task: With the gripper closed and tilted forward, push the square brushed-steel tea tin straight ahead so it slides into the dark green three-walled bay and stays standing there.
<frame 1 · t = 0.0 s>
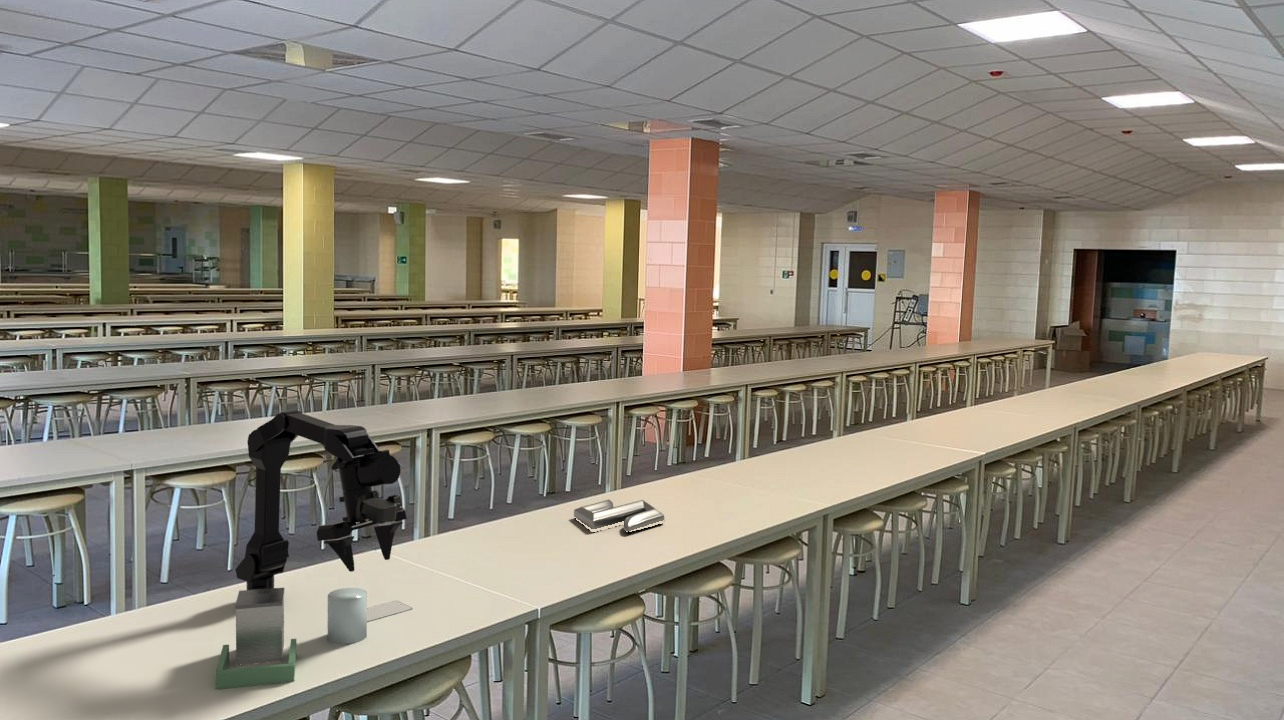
hand: (370, 565, 184), 15 cm above the table, tool pointing down, fingers open, 9 cm apart
round-topped grey cylinder: (347, 637, 187), on the table
bay: (258, 669, 170), on the table
tin: (260, 654, 177), on the table
smartphone: (375, 615, 200), on the table
emblem: (618, 523, 280), on the table
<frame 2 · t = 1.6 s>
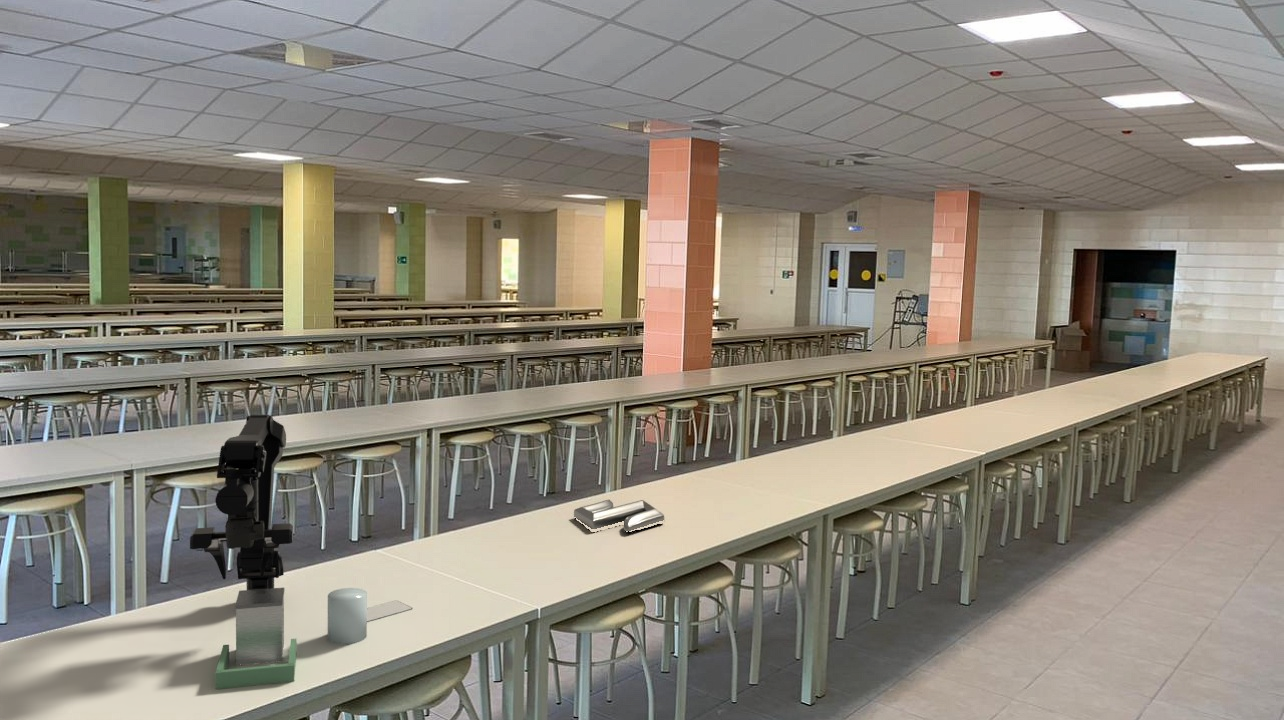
hand: (243, 577, 185), 12 cm above the table, tool pointing down, fingers open, 7 cm apart
nothing on the table moved.
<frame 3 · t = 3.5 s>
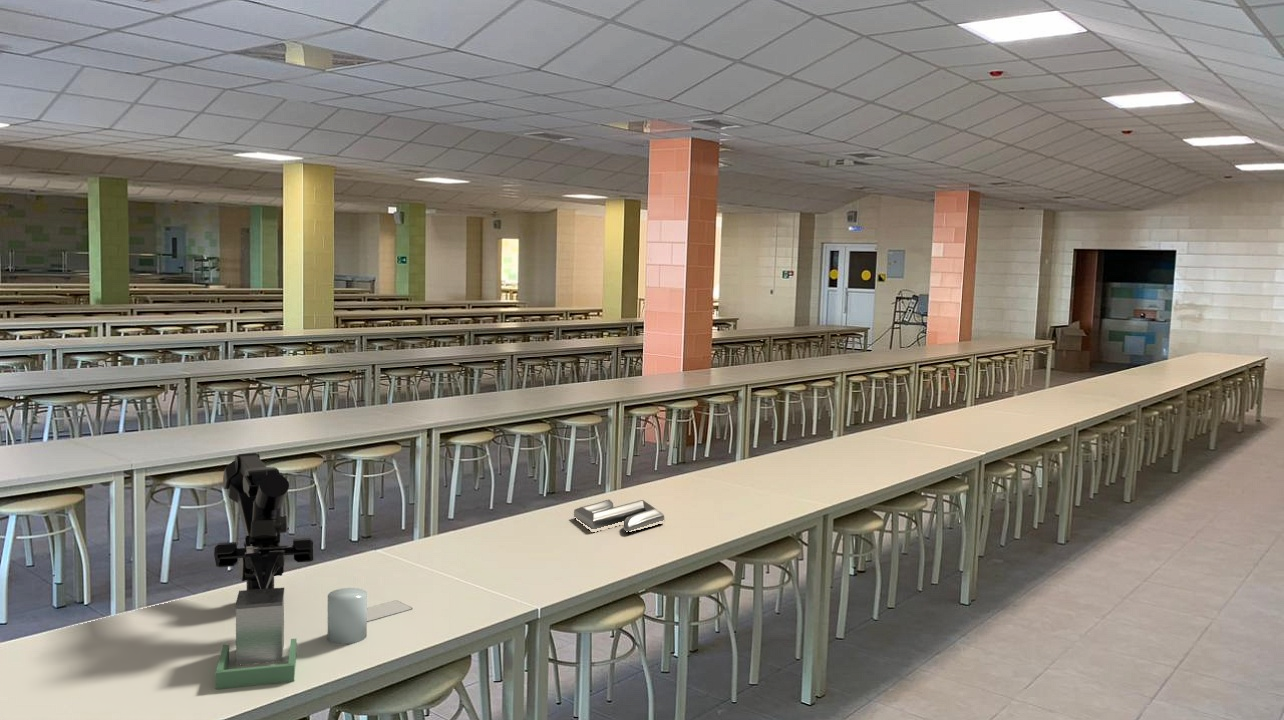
hand: (263, 590, 184), 10 cm above the table, tool tilted 45°, fingers closed
nothing on the table moved.
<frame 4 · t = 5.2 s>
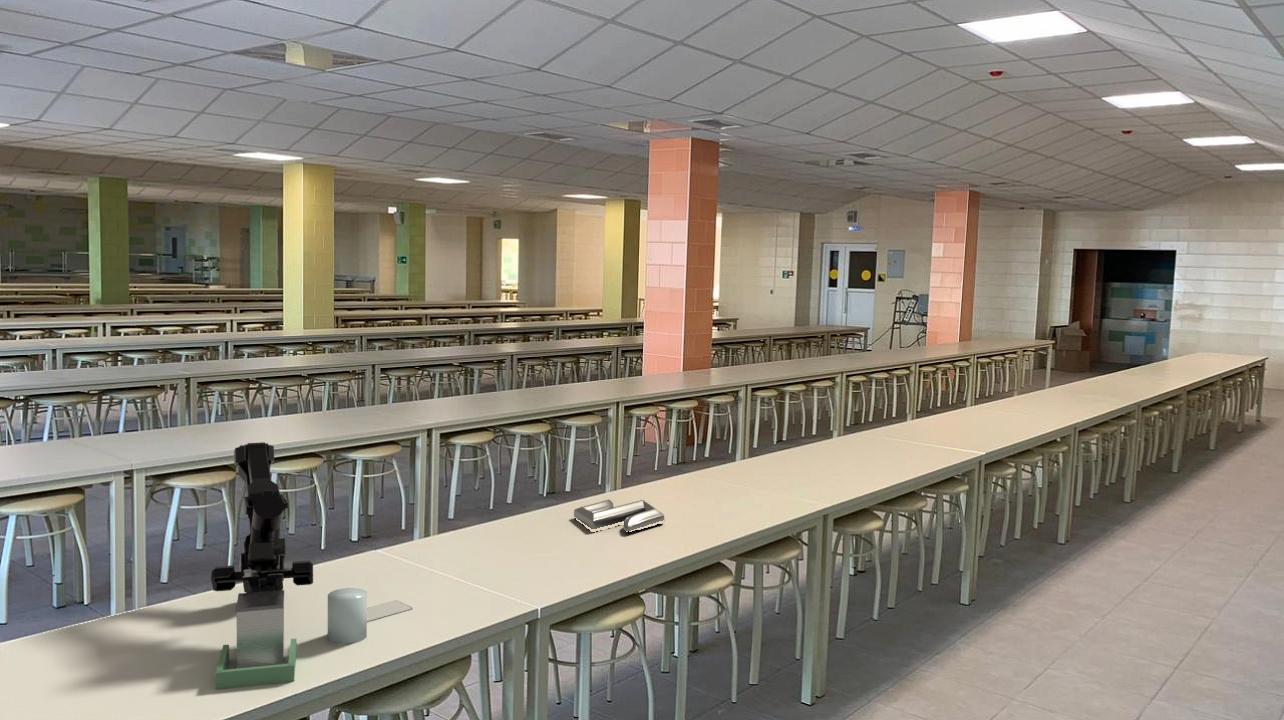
hand: (261, 615, 179), 7 cm above the table, tool tilted 45°, fingers closed, pressing on tin
tin: (261, 658, 176), on the table, touching gripper
everything else where it was.
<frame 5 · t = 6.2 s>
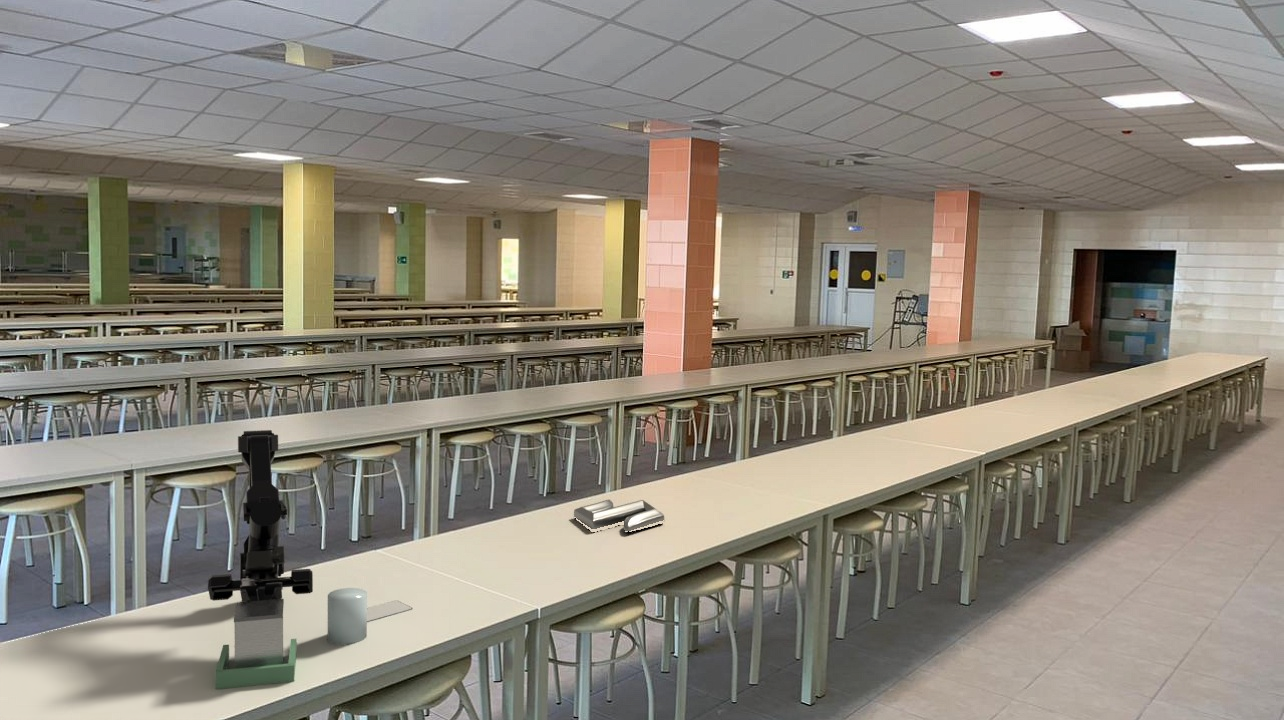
hand: (259, 625, 174), 7 cm above the table, tool tilted 45°, fingers closed, pressing on tin
tin: (259, 669, 171), on the table, touching gripper
everything else where it was.
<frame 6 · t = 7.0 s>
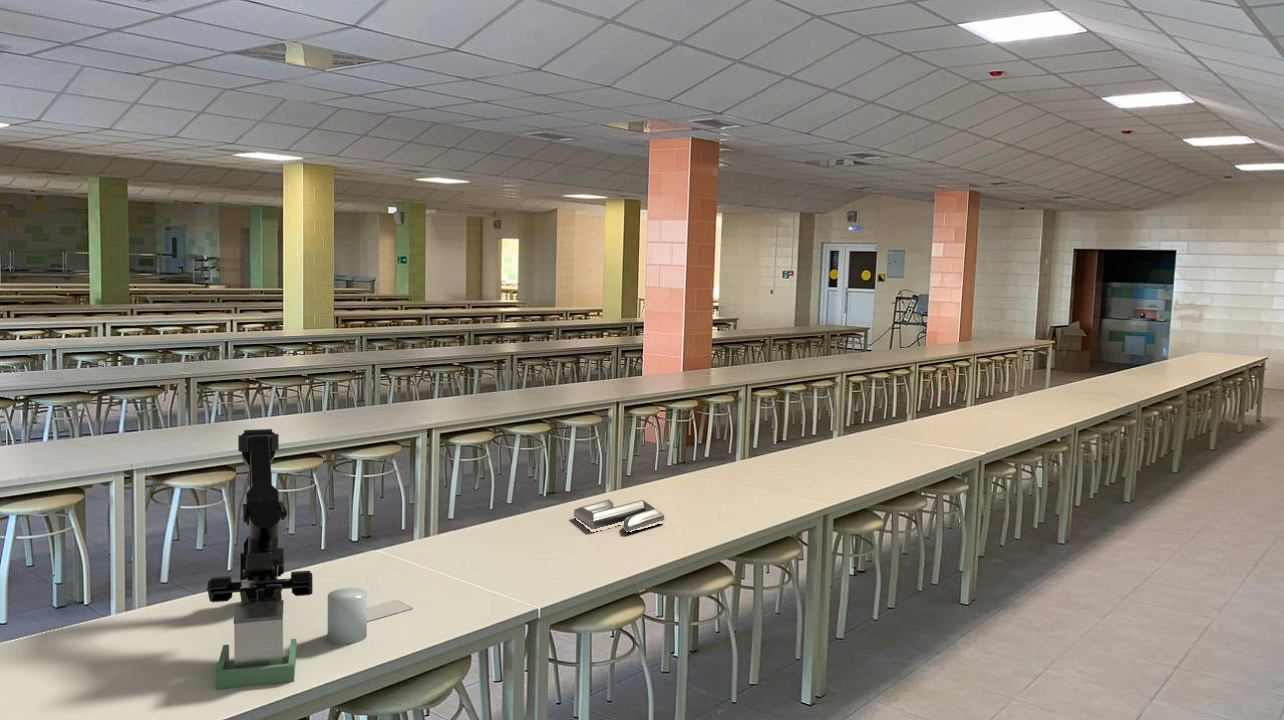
hand: (259, 627, 174), 7 cm above the table, tool tilted 45°, fingers closed
tin: (259, 670, 170), on the table, touching gripper
everything else where it was.
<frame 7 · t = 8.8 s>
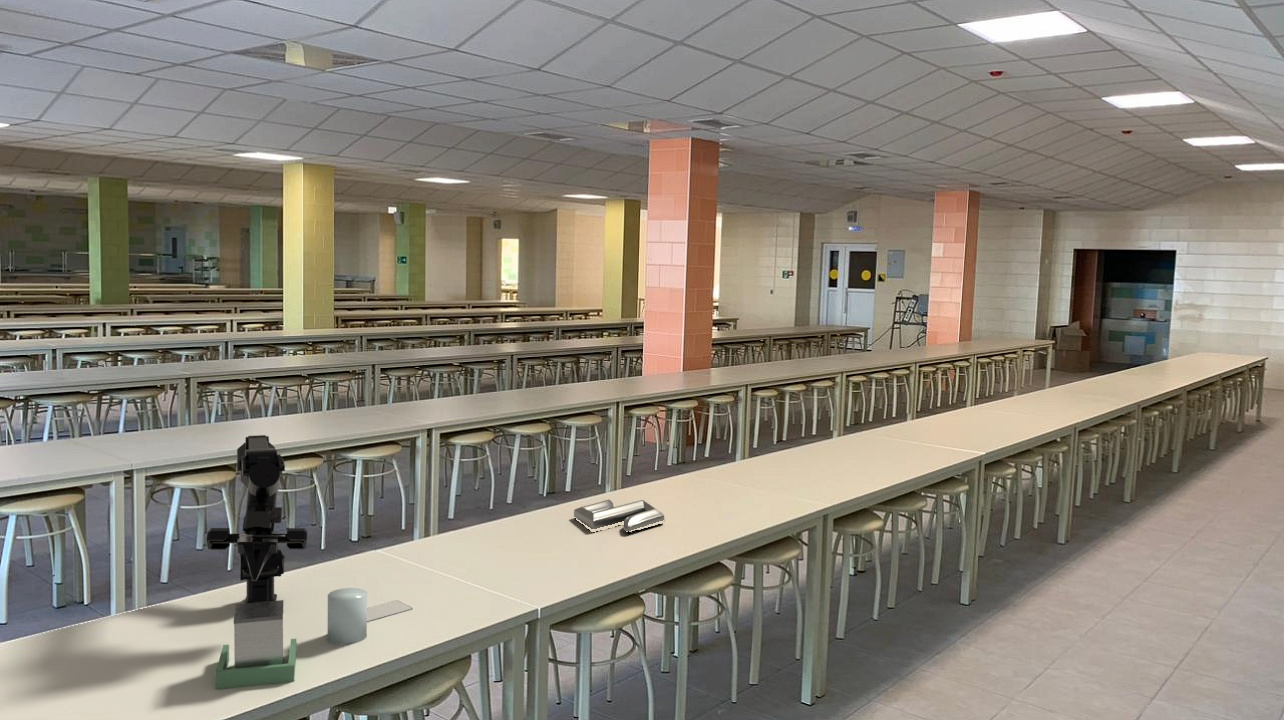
hand: (254, 580, 183), 12 cm above the table, tool tilted 35°, fingers closed
tin: (259, 670, 170), on the table
everything else where it was.
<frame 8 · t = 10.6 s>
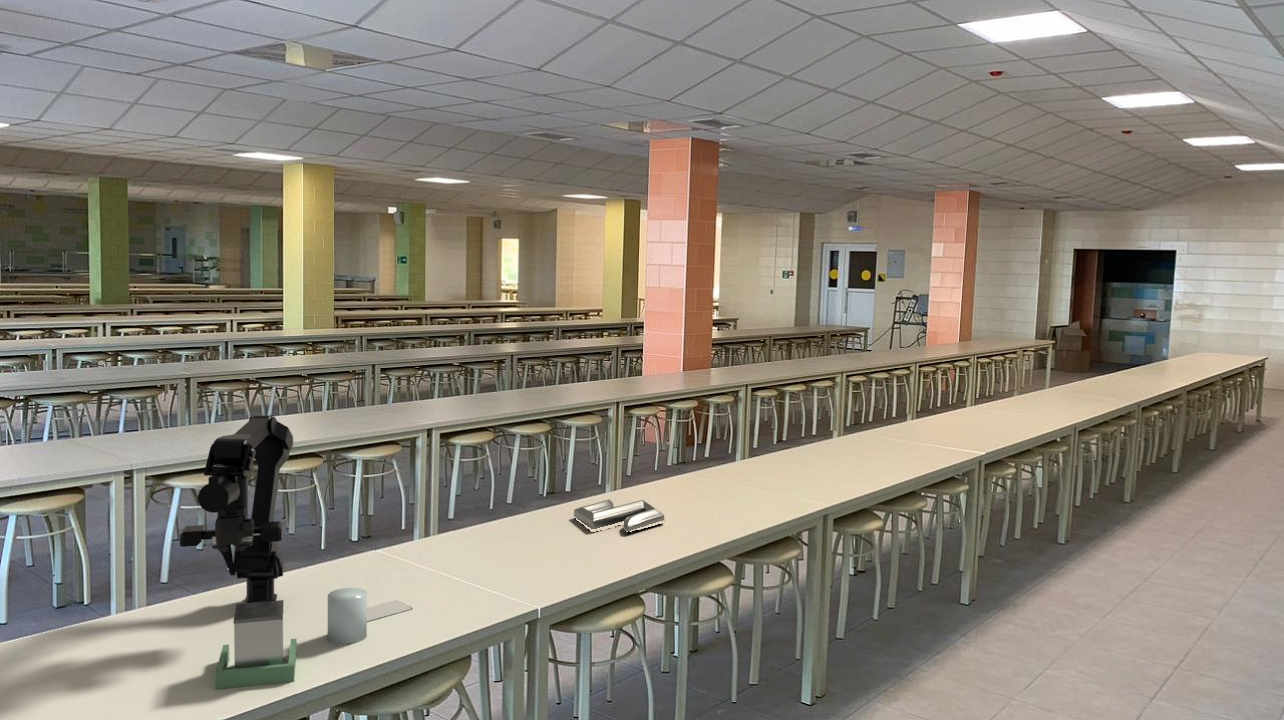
hand: (233, 574, 186), 12 cm above the table, tool pointing down, fingers closed
nothing on the table moved.
at the end: tin 0.9 cm off-centre on the bay, point 0.0 cm above the bay's base; tin tilted 0° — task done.
